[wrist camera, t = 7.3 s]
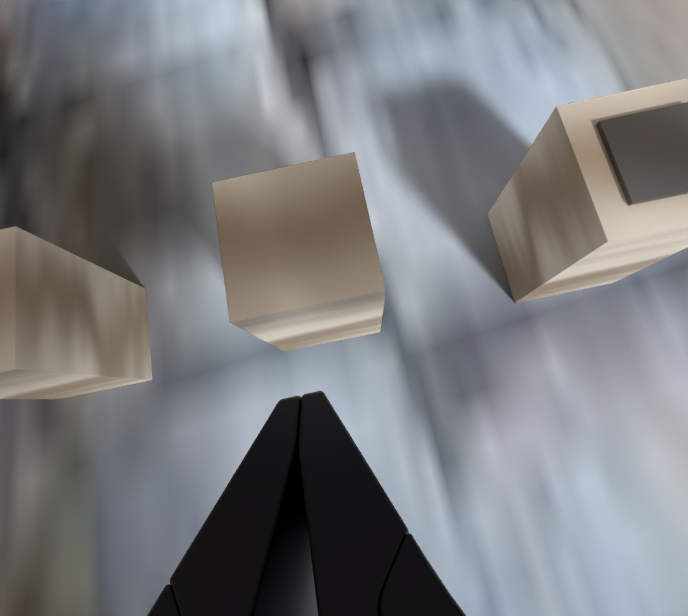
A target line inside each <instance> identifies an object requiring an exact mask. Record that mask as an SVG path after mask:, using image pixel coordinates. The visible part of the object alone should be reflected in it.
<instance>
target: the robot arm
mask: <svg viewBox="0 0 688 616" xmlns="http://www.w3.org/2000/svg"><path fill="white" fill-rule="evenodd" d="M170 584H171V585H170ZM170 584H168V585H166V586H165V588H164V589H163V591H162V593H161V594H160V596H159V597H158V599H157V601H156V602H155V604H154V606H153V607H152V609H151V610H150V612H149V614H148V615H147V616H466V615H465V614H464V612H463V611H462V610H461V608H460V607H459V605H458V604H457V603H456V601H455V600H454V599H453V597H452V596H451V595H450V593H449V592H448V590H447V589H446V587H445V586H444V584H443V583H442V581H441V580H440V578H439V577H438V575H437V574H436V572H435V571H434V569H433V568H432V566H431V565H430V563H429V562H428V560H427V559H426V557H425V556H424V554H423V552H422V551H421V549H420V547H419V546H418V544H417V543H416V541H415V539H414V538H413V536H412V535H411V534H409V531H408V528H407V527H406V525H405V524H404V522H403V520H402V519H401V517H400V515H399V514H398V512H397V511H396V509H395V507H394V506H393V504H392V502H391V501H390V499H389V498H388V496H387V494H386V493H385V491H384V490H383V488H382V486H381V485H380V483H379V481H378V480H377V478H376V477H375V475H374V473H373V472H372V470H371V468H370V467H369V465H368V464H367V462H366V460H365V459H364V457H363V455H362V454H361V452H360V451H359V449H358V447H357V446H356V444H355V443H354V441H353V439H352V438H351V436H350V434H349V433H348V431H347V430H346V428H345V426H344V425H343V423H342V421H341V420H340V418H339V417H338V415H337V413H336V412H335V410H334V408H333V407H332V405H331V404H330V402H329V400H328V399H327V397H326V396H325V394H324V393H323V392H322V391H317V392H312V393H308V394H304V395H303V396H302V398H301V397H300V396H294V397H289V398H285V399H282V400H280V401H279V402H278V403H277V405H276V407H275V408H274V410H273V411H272V413H271V415H270V416H269V418H268V420H267V421H266V423H265V425H264V426H263V428H262V429H261V431H260V433H259V434H258V436H257V438H256V439H255V441H254V443H253V444H252V446H251V447H250V449H249V451H248V452H247V454H246V456H245V457H244V459H243V461H242V462H241V464H240V465H239V467H238V469H237V470H236V472H235V474H234V475H233V477H232V478H231V480H230V482H229V483H228V485H227V487H226V488H225V490H224V492H223V493H222V495H221V496H220V498H219V500H218V501H217V503H216V505H215V506H214V508H213V510H212V511H211V513H210V514H209V516H208V518H207V519H206V521H205V523H204V524H203V526H202V528H201V529H200V531H199V532H198V534H197V536H196V537H195V539H194V541H193V542H192V544H191V546H190V547H189V549H188V550H187V552H186V554H185V555H184V557H183V559H182V560H181V562H180V563H179V565H178V567H177V568H176V570H175V572H174V573H173V575H172V577H171V578H170Z"/></svg>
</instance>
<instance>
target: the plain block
mask: <svg viewBox="0 0 688 616" xmlns="http://www.w3.org/2000/svg"><path fill="white" fill-rule="evenodd" d="M212 187H213V195H214V202H215V210H216V218H217V226H218V234H219V242H220V250H221V257H222V265H223V273H224V281H225V289H226V297H227V305H228V312H229V320H230V323H232V324H234V325H235V326H237V327H239V328H241V329H243V330H245V331H247V332H249V333H251V334H252V335H254V336H256V337H258V338H260V339H262V340H264V341H266V342H267V343H269V344H271V345H273V346H275V347H277V348H279V349H281V350H282V351H289V350H294V349H299V348H304V347H309V346H313V345H318V344H323V343H328V342H333V341H338V340H343V339H348V338H353V337H358V336H363V335H368V334H373V333H378V332H380V328H381V321H382V314H383V308H384V301H385V294H386V288H385V284H384V279H383V275H382V271H381V266H380V262H379V257H378V253H377V249H376V244H375V240H374V235H373V231H372V227H371V222H370V218H369V213H368V209H367V205H366V200H365V196H364V191H363V187H362V183H361V178H360V174H359V169H358V165H357V161H356V156H355V152H353V153H348V154H343V155H339V156H334V157H329V158H324V159H320V160H315V161H310V162H306V163H301V164H296V165H291V166H287V167H282V168H277V169H273V170H268V171H263V172H258V173H254V174H249V175H244V176H239V177H235V178H230V179H225V180H221V181H216V182H212Z"/></svg>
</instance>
